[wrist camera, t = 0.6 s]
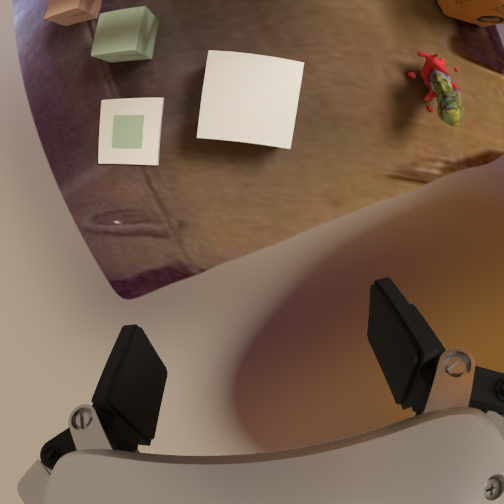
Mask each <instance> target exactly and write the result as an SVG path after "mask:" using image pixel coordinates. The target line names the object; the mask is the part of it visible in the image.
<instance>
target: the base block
mask: <svg viewBox="0 0 504 504" xmlns="http://www.w3.org/2000/svg"><path fill="white" fill-rule="evenodd" d="M303 66H304V63H303V62H299V61H294V60H288V59H283V58H277V57H271V56H264V55H257V54H249V53H240V52H229V51H215V50H209V51H208V57H207V63H206V70H205V76H204V83H203V90H202V97H201V105H200V113H199V121H198V130H197V138H205V139H216V140H227V141H236V142H245V143H253V144H260V145H267V146H274V147H280V148H287V149H290V148H291V142H292V136H293V130H294V124H295V118H296V112H297V105H298V99H299V93H300V86H301V80H302V73H303Z"/></svg>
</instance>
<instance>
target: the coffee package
mask: <svg viewBox="0 0 504 504" xmlns="http://www.w3.org/2000/svg"><path fill="white" fill-rule="evenodd" d="M437 2H438V4H439V6H440V8H441V9H442V11H443V13H444V14H445V15H447V16H450V17H453V18H456V19H459V20H462V21H465V22H469V23H473V24H476V25H479V26H484V27H486V26H490V25H496V24H502V23H504V0H437Z"/></svg>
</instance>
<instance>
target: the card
mask: <svg viewBox="0 0 504 504" xmlns="http://www.w3.org/2000/svg"><path fill="white" fill-rule="evenodd" d="M163 106H164V98H125V99H109V100H102V101H101V112H100V126H99V151H98V164H137V165H159V150H160V137H161V125H162V115H163Z"/></svg>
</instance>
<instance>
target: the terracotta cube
mask: <svg viewBox="0 0 504 504" xmlns="http://www.w3.org/2000/svg"><path fill="white" fill-rule="evenodd" d="M102 1H103V0H50V1H49V4H48V7H47V11H46V14H45V17H44V19H46V20H49V21H52V22H55V23H57V24H60V25H63V26H69V25H72V24H76V23H80V22H83V21H87V20H92V19H96V18H98V15H99V11H100V8H101V4H102Z"/></svg>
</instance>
